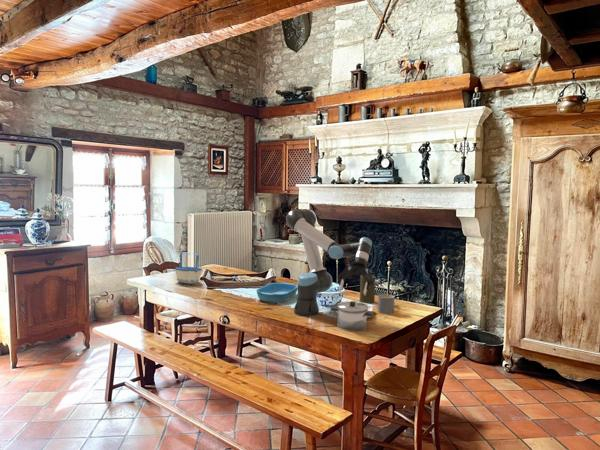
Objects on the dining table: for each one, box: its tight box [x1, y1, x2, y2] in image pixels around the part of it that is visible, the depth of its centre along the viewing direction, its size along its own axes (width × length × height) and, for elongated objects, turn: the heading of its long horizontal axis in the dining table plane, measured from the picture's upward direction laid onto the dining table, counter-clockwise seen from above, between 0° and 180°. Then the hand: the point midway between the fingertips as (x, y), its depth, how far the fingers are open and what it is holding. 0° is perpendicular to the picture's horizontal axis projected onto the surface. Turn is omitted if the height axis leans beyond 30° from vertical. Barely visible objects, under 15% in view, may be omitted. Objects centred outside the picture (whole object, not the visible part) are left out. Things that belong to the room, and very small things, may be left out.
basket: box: [174, 251, 203, 285], centre depth 330 cm, size 21×16×24 cm
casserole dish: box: [255, 282, 298, 303], centre depth 292 cm, size 37×22×7 cm, turn 159°
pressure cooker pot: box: [330, 305, 375, 332], centre depth 231 cm, size 23×16×10 cm
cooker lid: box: [336, 300, 369, 313], centre depth 231 cm, size 17×18×4 cm
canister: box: [359, 271, 377, 304], centre depth 288 cm, size 11×10×20 cm
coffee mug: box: [377, 293, 395, 315], centre depth 265 cm, size 13×10×10 cm
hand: (352, 292), depth 227 cm, fingers open, 13 cm apart
